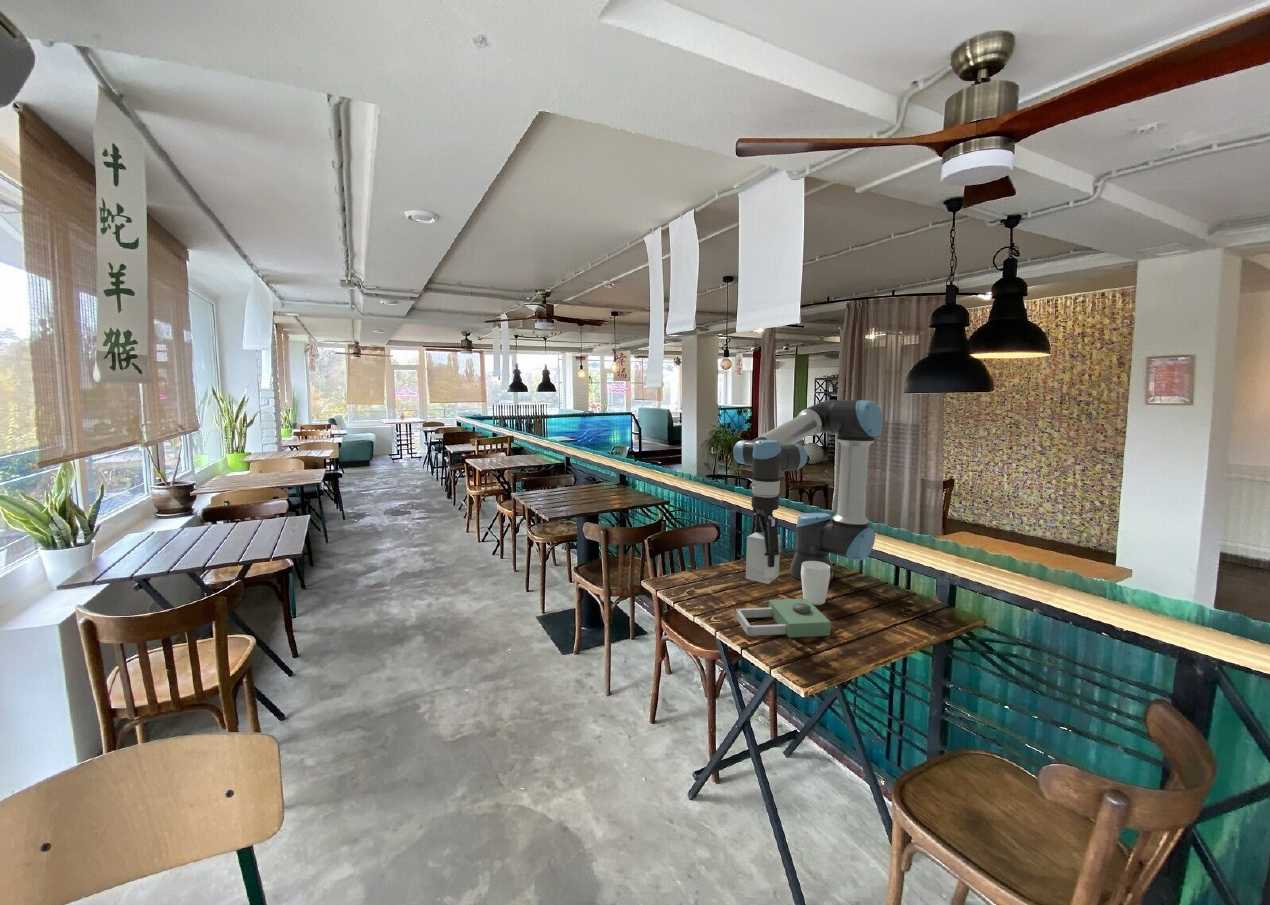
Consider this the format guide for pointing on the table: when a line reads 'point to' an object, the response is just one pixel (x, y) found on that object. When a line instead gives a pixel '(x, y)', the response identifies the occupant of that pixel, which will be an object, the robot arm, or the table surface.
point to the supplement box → (758, 558)
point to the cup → (815, 581)
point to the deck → (786, 619)
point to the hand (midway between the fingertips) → (762, 570)
